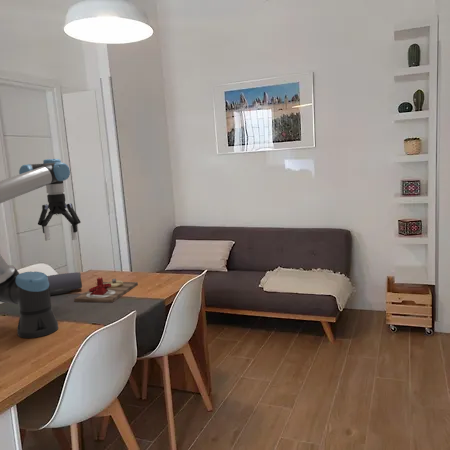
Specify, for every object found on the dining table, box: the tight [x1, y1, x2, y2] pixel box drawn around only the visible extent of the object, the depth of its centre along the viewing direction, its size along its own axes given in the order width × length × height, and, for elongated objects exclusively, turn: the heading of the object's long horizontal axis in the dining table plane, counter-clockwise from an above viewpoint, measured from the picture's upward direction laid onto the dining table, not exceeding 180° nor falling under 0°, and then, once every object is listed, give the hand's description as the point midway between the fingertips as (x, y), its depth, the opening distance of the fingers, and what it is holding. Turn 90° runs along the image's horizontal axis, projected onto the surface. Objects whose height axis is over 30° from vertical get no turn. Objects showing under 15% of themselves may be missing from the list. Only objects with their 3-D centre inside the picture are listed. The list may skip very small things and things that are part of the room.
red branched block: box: [88, 277, 111, 295], centre depth 222 cm, size 11×12×8 cm
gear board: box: [73, 278, 139, 303], centre depth 229 cm, size 30×20×5 cm, turn 168°
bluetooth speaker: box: [47, 271, 83, 296], centre depth 233 cm, size 23×9×10 cm, turn 111°
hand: (60, 239), depth 205 cm, fingers open, 13 cm apart
